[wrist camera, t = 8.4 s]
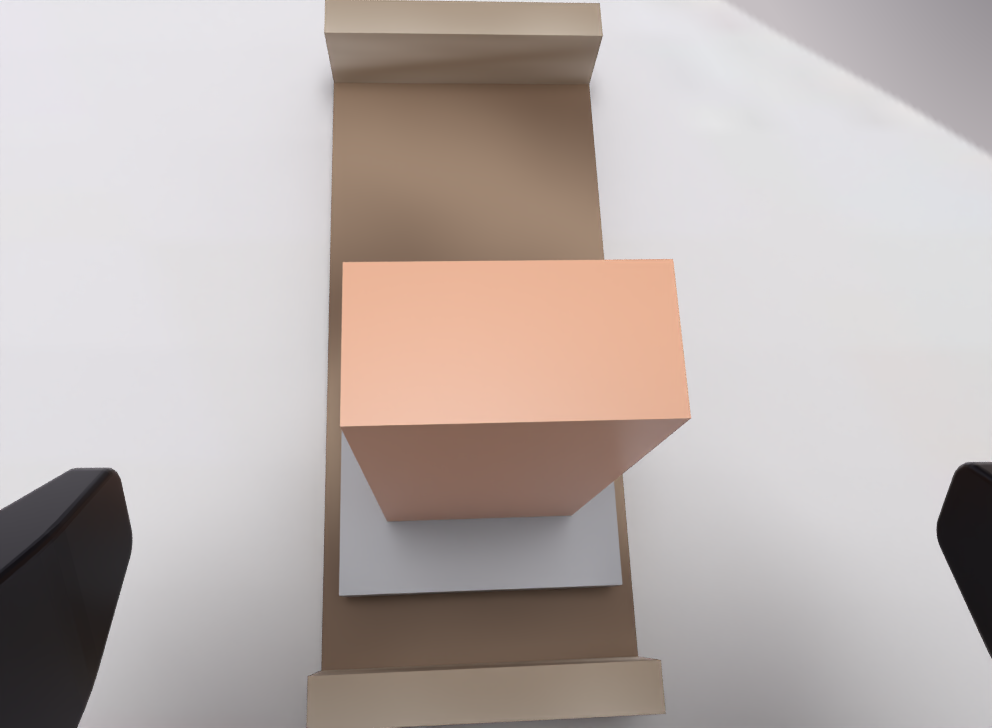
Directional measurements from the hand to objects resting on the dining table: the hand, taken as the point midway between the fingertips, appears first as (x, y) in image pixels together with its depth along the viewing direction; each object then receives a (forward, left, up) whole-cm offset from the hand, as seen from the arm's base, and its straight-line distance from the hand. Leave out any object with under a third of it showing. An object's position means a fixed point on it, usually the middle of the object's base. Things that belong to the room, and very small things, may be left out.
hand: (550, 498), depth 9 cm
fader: (+2, 0, -10) cm, 10 cm away
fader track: (+5, 0, -12) cm, 13 cm away
